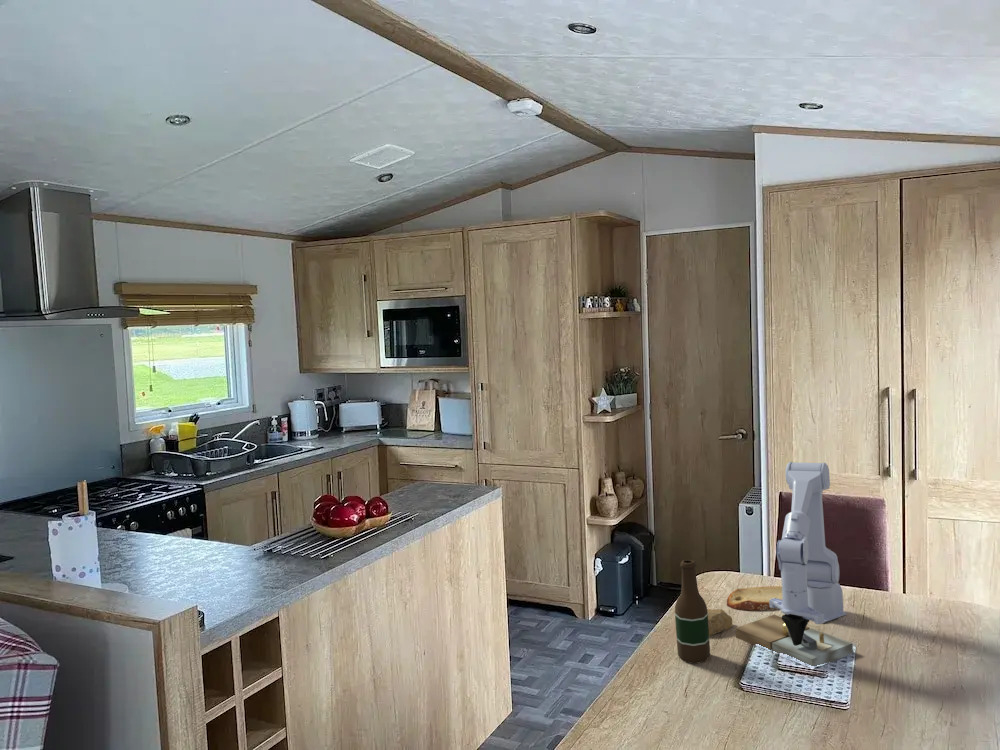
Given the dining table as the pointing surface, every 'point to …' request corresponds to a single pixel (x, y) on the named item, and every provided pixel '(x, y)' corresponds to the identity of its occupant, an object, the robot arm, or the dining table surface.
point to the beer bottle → (691, 618)
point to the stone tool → (718, 621)
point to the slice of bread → (754, 598)
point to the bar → (806, 639)
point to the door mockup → (772, 637)
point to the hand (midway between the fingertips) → (797, 644)
